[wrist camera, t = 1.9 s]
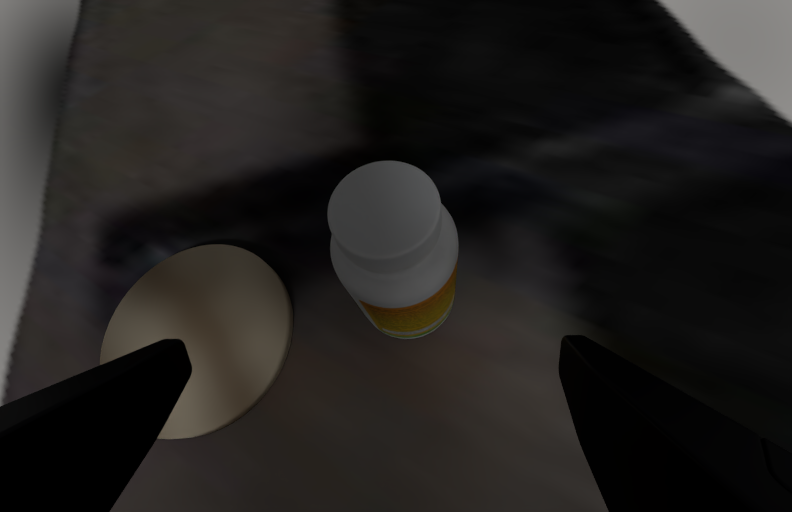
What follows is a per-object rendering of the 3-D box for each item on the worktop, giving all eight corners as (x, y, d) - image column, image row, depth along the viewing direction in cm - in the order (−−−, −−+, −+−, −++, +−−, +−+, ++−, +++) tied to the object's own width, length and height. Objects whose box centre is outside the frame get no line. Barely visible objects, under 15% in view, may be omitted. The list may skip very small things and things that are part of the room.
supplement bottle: (474, 291, 21) (497, 197, 12) (409, 361, 20) (382, 314, 11) (406, 235, 23) (384, 120, 14) (343, 296, 22) (276, 212, 13)
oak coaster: (190, 487, 18) (177, 490, 18) (80, 356, 22) (64, 353, 21) (331, 313, 21) (326, 308, 20) (212, 222, 25) (204, 215, 24)
